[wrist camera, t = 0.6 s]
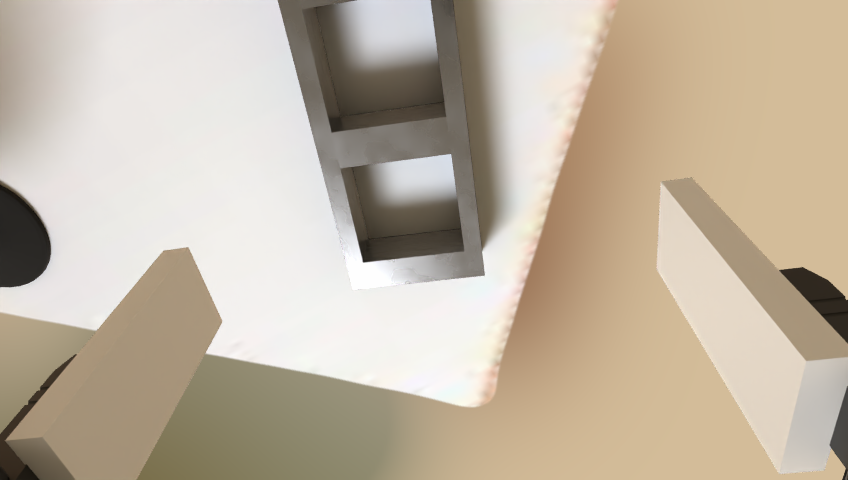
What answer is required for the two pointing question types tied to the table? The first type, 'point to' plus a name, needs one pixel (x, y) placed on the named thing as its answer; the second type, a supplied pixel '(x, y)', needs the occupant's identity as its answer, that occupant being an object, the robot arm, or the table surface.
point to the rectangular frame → (389, 156)
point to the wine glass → (20, 242)
